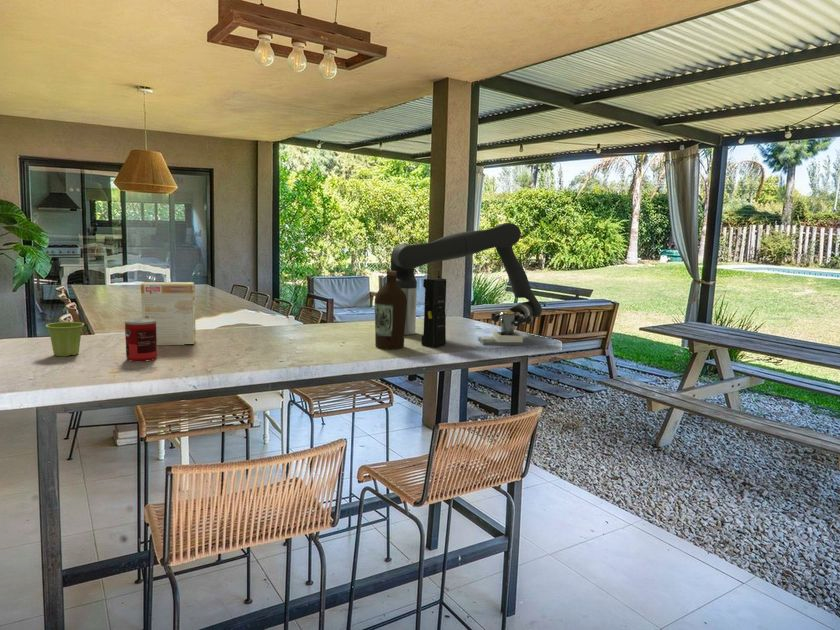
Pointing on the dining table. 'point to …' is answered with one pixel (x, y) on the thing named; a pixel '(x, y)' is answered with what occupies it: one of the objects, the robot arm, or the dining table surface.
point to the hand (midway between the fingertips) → (506, 320)
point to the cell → (507, 323)
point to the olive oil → (390, 314)
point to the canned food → (141, 339)
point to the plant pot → (65, 337)
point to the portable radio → (434, 312)
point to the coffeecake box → (170, 311)
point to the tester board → (502, 339)
